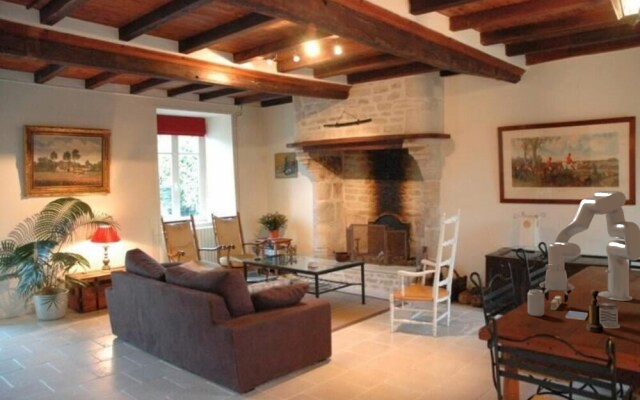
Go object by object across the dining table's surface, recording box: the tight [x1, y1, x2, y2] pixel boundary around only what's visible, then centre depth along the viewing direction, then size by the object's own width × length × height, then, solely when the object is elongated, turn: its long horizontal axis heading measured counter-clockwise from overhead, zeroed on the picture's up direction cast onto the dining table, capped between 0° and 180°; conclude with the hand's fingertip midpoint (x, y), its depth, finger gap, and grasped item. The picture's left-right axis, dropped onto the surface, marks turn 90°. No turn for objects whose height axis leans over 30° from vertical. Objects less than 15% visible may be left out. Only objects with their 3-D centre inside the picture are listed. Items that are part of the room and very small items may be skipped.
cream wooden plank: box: [550, 295, 562, 311], centre depth 262 cm, size 16×2×4 cm, turn 146°
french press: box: [590, 269, 621, 329], centre depth 228 cm, size 10×12×25 cm
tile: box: [565, 310, 589, 321], centre depth 242 cm, size 2×8×10 cm
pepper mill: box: [585, 288, 604, 333], centre depth 221 cm, size 7×6×18 cm
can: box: [527, 289, 545, 317], centre depth 247 cm, size 8×8×12 cm
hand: (556, 300), depth 263 cm, fingers open, 8 cm apart
